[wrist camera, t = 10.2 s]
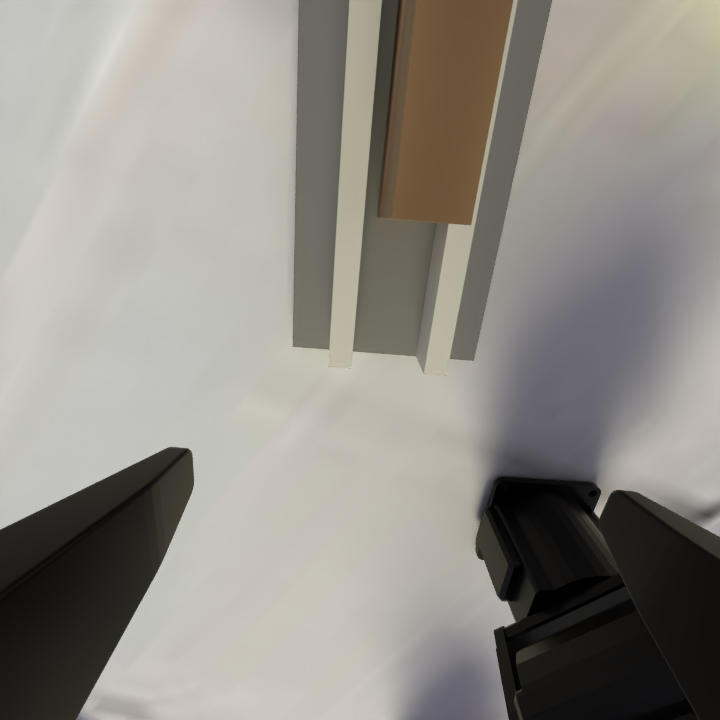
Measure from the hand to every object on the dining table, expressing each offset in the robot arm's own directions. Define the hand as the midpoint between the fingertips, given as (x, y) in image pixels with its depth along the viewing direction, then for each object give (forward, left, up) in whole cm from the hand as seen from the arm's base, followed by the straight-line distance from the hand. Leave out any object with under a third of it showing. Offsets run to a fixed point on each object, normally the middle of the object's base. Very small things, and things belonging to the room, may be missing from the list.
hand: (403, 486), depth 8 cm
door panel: (0, -9, -11) cm, 14 cm away
